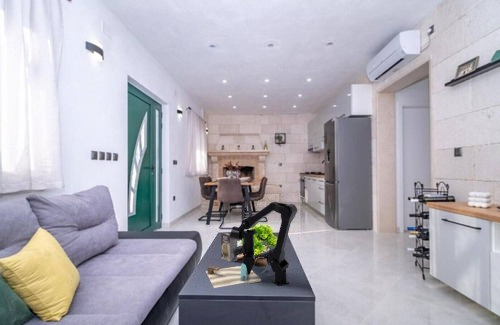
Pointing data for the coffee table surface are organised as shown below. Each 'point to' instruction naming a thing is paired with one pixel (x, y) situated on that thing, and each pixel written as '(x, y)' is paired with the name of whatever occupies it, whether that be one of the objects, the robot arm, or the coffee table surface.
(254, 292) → the coffee table surface
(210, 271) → the keeper
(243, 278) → the link bar
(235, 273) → the base board
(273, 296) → the coffee table surface
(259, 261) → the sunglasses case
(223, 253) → the coffee box
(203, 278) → the coffee table surface
